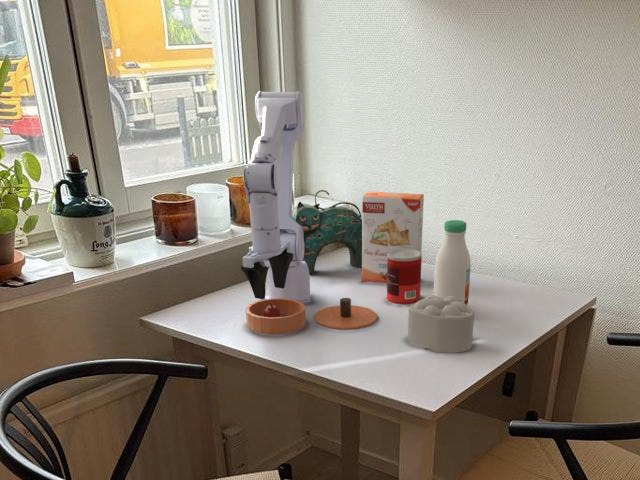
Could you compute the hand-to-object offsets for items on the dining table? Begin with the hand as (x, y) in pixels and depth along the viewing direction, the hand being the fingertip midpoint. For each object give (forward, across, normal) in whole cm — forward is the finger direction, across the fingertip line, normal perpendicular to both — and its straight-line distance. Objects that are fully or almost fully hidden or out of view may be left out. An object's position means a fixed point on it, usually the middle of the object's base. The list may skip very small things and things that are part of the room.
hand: (269, 292), depth 155 cm
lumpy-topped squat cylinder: (+7, -8, +36) cm, 38 cm away
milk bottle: (+7, -24, +32) cm, 40 cm away
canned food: (+7, -27, +19) cm, 34 cm away
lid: (+6, -10, +13) cm, 17 cm away
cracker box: (+7, -38, +10) cm, 40 cm away
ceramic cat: (+7, -41, -9) cm, 42 cm away
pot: (+7, 0, +1) cm, 7 cm away
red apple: (+7, 0, 0) cm, 7 cm away
